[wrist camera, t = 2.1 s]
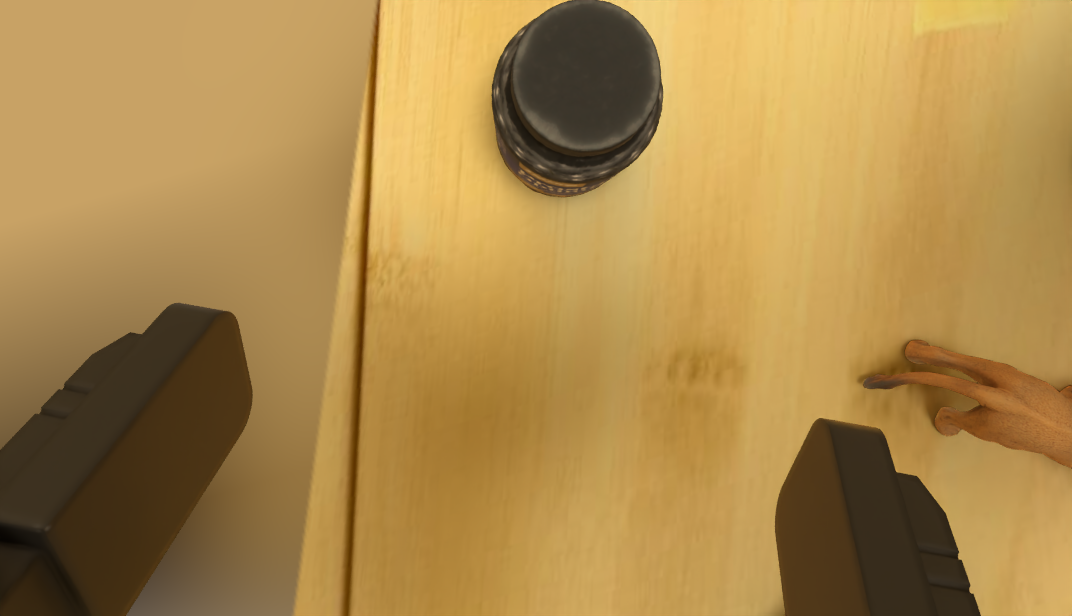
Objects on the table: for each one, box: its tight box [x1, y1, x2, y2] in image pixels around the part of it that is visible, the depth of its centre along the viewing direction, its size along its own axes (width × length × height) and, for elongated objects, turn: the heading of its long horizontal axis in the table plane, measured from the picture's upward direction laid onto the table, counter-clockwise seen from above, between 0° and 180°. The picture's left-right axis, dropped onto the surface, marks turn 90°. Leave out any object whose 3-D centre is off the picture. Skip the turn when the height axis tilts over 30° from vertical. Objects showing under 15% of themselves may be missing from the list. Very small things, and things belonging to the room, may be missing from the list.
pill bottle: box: [492, 0, 663, 197], centre depth 28 cm, size 6×6×11 cm
